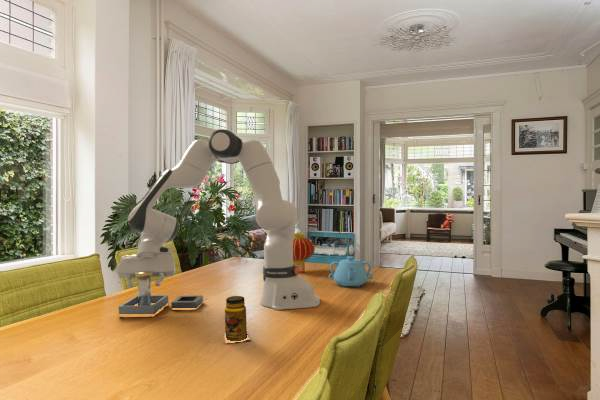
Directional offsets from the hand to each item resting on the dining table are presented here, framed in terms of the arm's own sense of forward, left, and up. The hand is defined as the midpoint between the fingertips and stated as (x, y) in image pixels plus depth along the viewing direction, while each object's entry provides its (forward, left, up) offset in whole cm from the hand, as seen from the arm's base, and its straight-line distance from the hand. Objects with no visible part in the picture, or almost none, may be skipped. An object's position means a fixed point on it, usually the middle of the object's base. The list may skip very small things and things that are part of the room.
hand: (143, 286), depth 139 cm
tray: (0, -1, -9) cm, 9 cm away
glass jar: (0, -1, -8) cm, 8 cm away
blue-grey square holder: (-14, -6, -9) cm, 18 cm away
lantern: (-54, -65, -10) cm, 85 cm away
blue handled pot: (-78, -35, -10) cm, 86 cm away
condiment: (-38, +25, -10) cm, 47 cm away
